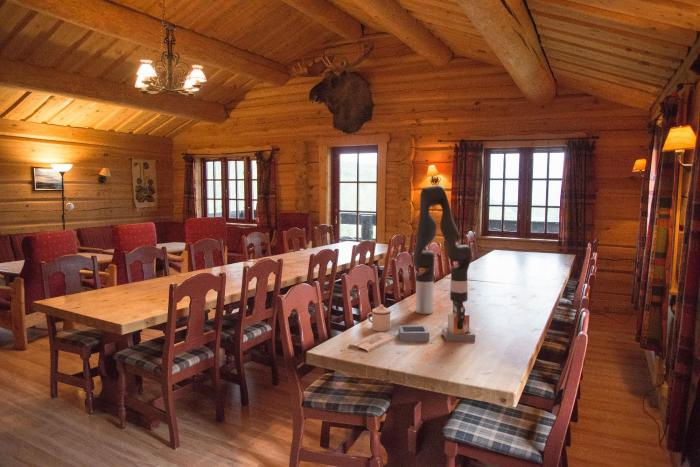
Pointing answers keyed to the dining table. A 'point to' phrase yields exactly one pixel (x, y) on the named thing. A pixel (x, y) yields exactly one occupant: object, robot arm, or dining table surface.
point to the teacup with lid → (380, 318)
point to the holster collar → (458, 335)
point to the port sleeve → (414, 333)
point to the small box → (454, 323)
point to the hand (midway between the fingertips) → (458, 326)
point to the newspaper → (373, 341)
